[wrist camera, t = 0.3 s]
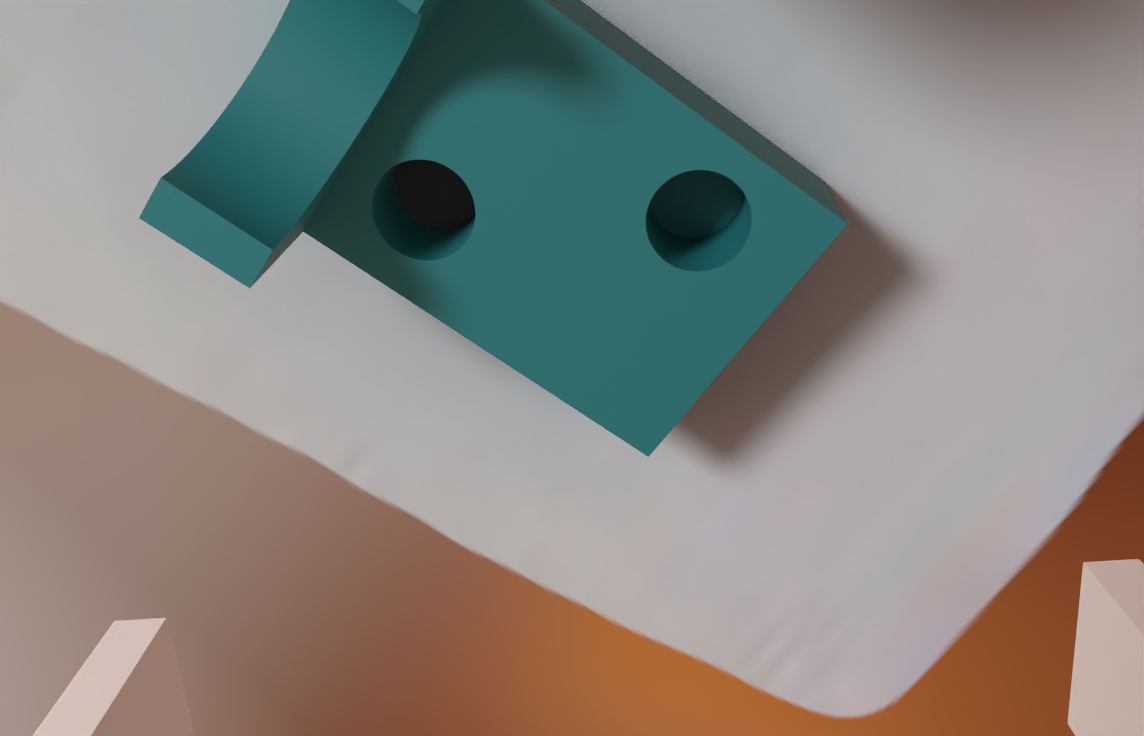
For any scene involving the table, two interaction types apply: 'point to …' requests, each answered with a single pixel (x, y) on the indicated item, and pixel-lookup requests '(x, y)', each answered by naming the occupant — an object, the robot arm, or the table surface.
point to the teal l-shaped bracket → (513, 192)
